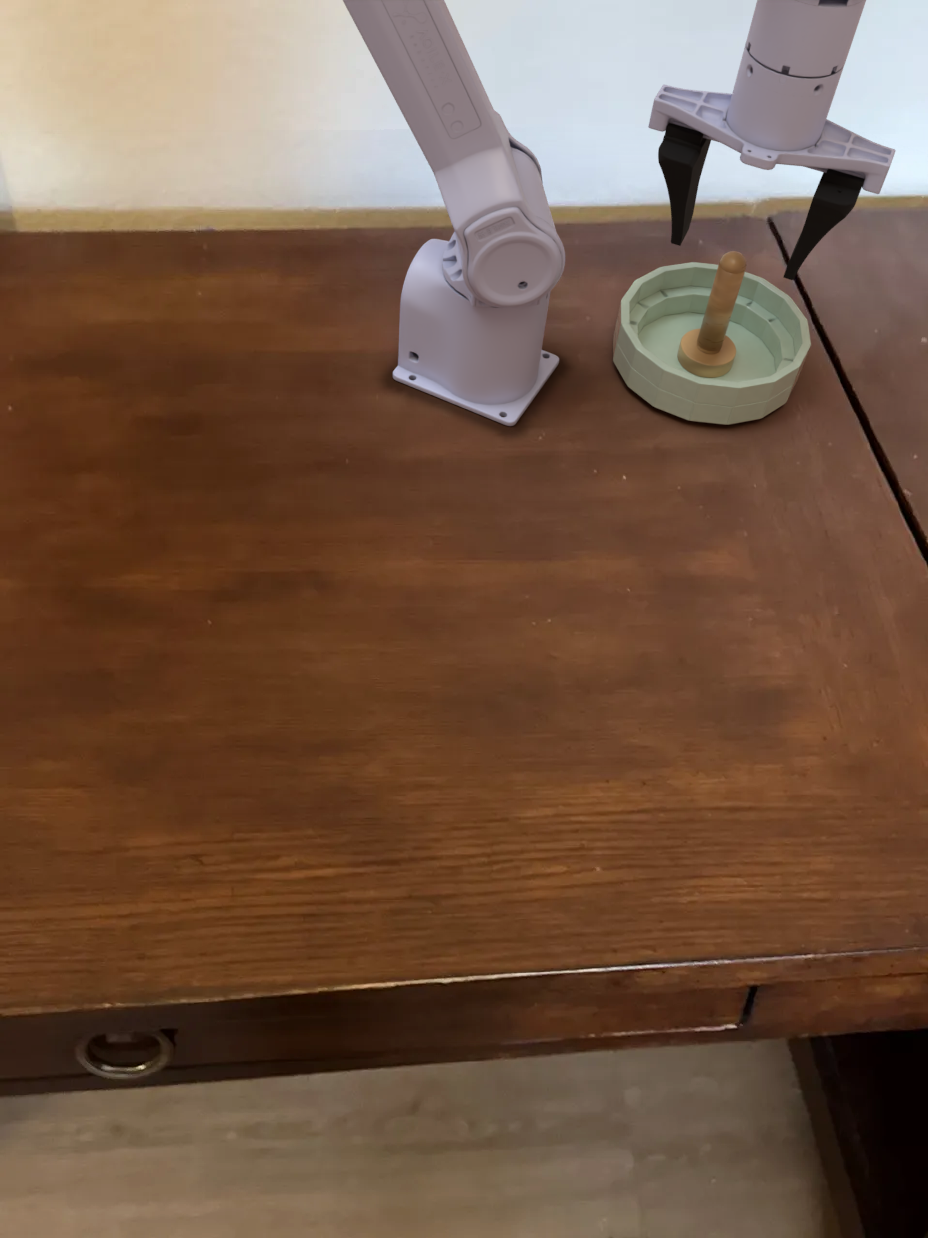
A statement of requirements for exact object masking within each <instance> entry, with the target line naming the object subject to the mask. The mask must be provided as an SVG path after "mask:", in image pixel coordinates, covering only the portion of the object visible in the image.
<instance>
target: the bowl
mask: <svg viewBox="0 0 928 1238" xmlns="http://www.w3.org/2000/svg"><path fill="white" fill-rule="evenodd" d="M718 265H719V264H715V263H706V262H698V261H691V262H683V263H678V264H677V263H675V264H670V265H664V266H659V267H657V268H656V269H653V270H652V271H650V272H648V273H646V274H644V275H643V276H641V277H638V278H636V279H635V280H634V281H633V282H632V284H631V285H630V286H629V287H628V289H627V291H626V292H625V293H624V295H623V296H622V297H621V300H620V303H619V308H618V312H617V318H616V322H615V326H614V332H613V335H612V361H613V364H614V366H615V367H616V369H617V371H618V372H619V374H620V376H621V379H623V381H624V383H625V385H626V386H627V387H628V388H629V389H630V390H631V391H632V392H634V393H635V394H637V395H638V396H639V397H640V398H642V399H643V400H644V401H645V402H646V403H648V404H649V405H651V406H652V407H654V408H655V409H658V410H661V411H663V412H666V413H668V414H671V415H673V416H676V417H678V418H681V419H683V420H686V421H690V422H697V423H707V424H716V425H724V426H725V425H728V426H729V425H735V424H740V423H745V422H751V421H756V420H757V421H758V420H761V419H763V418H764V417H766V416H768V415H769V414H771V413H772V412H774V411H776V410H777V409H779V408H781V407H782V406H784V405H786V403H787V402H788V400H789V398H790V397H791V395H792V392H793V391H794V388H795V387H796V385H797V382H798V380H799V378H800V375H801V372H802V369H803V367H804V364H805V362H806V359H807V357H808V354H809V352H810V349H811V347H812V341H811V334H810V327H809V320H808V319H807V317H806V316H805V315H804V313H803V312H802V311H801V310H800V309H801V308H799V307H798V305H797V304H796V302H795V301H794V300H793V298H792V297H791V296H790V295H788V294H787V293H786V292H784V291H782V289H779V287H777V286H776V285H774V284H772V283H771V282H769V281H768V280H766V279H765V278H763V277H762V276H758V275H755V274H753V273H750V272H748V271H745V273H744V276H743V280H742V283H741V286H740V289H739V293H738V296H737V299H736V302H735V306H734V309H733V312H732V315H731V319H730V322H729V325H728V328H727V332H726V336H728V337H729V338H730V339H731V340H732V341H733V343H734V344H735V347H736V356H735V359H734V362H733V365H732V368H731V369H730V371H729V372H728V373H726V374H725V375H723V376H720V377H715V378H705V377H700V376H697V375H694V374H692V373H690V372H688V371H687V370H685V369H684V368H683V367H682V366H681V364H680V363H679V361H678V357H677V353H678V349H679V345H680V342H681V339H682V337H683V336H684V335H685V334H686V333H687V332H689V331H691V330H694V329H700V328H701V325H702V321H703V318H704V314H705V311H706V307H707V304H708V300H709V297H710V293H711V290H712V286H713V283H714V279H715V276H716V272H717V269H718Z"/></svg>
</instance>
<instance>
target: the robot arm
mask: <svg viewBox="0 0 928 1238" xmlns="http://www.w3.org/2000/svg"><path fill="white" fill-rule="evenodd" d="M342 2H343V4H344V5H345V6H344V7H345V8H346V10H347V11H348V13H349V15H350V17H351V19H352V21H353V23H354V25H355V27H356V28H357V30H358V33H359V34H360V36H361V38H362V40H363V42H364V44H365V46H366V48H367V49H368V51H369V53H370V55H371V57H372V59H373V60H374V63H375V65H376V66H377V68H378V70H379V72H380V75H381V77H382V78H383V80H384V81H385V84H386V85H387V88H388V90H389V91H390V93H391V95H392V97H393V100H394V101H395V103H396V104H397V106H398V109H399V111H400V112H401V114H402V116H403V118H404V120H405V122H406V123H407V125H408V127H409V130H410V131H411V133H412V135H413V137H414V139H415V140H416V142H417V145H418V146H419V148H420V150H421V153H422V154H423V156H424V158H425V159H426V161H427V164H428V165H429V167H430V169H431V171H432V173H433V175H434V178H435V181H436V183H437V187H438V189H439V192H440V195H441V197H442V201H443V204H444V206H445V209H446V212H447V215H448V217H449V220H450V223H451V226H452V228H453V233H452V235H451V236H450V239H449V240H444V239H439V238H431V239H429V240H427V241H426V242H424V244H422V246H420V248H419V249H418V251H417V252H416V254H415V255H414V257H413V259H412V260H411V262H410V265H409V267H408V269H407V272H406V274H405V278H404V281H403V285H402V289H401V294H400V302H399V324H398V325H399V327H398V350H397V351H398V353H397V366H396V367H394V370H393V371H392V378H393V380H395V381H396V382H399V383H401V384H403V385H406V386H408V387H411V388H414V389H416V390H418V391H421V392H423V393H426V394H428V395H431V396H433V397H435V398H438V399H441V400H442V401H445V402H447V403H450V404H452V405H455V406H458V407H460V408H463V409H465V410H467V411H470V412H472V413H474V414H477V415H479V416H482V417H485V418H487V419H488V420H492V421H494V422H496V423H499V424H501V425H504V426H507V427H513V426H515V425H516V424H517V423H518V422H519V420H520V419H521V417H522V416H523V414H525V412H526V410H527V409H528V407H529V406H530V405H531V404H532V402H533V400H534V399H535V398H536V397H537V395H538V394H539V392H540V391H541V390H542V388H543V387H544V385H545V384H546V382H547V381H548V380H549V379H550V377H551V375H552V374H553V373H554V372H555V370H556V369H557V367H558V366H559V363H560V357H559V356H558V355H556V354H554V353H551V352H549V351H546V350H543V344H544V337H545V331H546V325H547V317H548V310H549V306H550V299H551V292H552V290H553V289H554V288H555V287H556V285H557V284H558V283H559V281H560V279H561V278H562V275H563V273H564V271H565V267H566V251H565V247H564V246H565V245H564V243H563V241H562V239H561V238H560V236H559V234H558V232H557V229H556V226H555V222H554V219H553V215H552V210H551V209H550V205H549V201H548V199H547V194H546V190H545V188H544V184H543V183H544V182H543V174H542V168H541V165H540V163H539V160H538V158H537V157H536V155H535V153H534V152H532V150H531V149H530V148H528V147H527V146H526V145H525V144H523V143H522V142H520V141H519V140H517V139H516V138H515V137H514V136H513V135H512V134H511V133H510V132H509V129H508V128H507V127H506V125H505V123H504V120H503V118H502V115H501V114H500V113H499V112H498V111H496V110H495V109H494V107H493V104H492V102H491V100H490V97H489V96H488V93H487V91H486V89H485V87H484V85H483V82H482V81H481V78H480V76H479V74H478V72H477V70H476V67H475V65H474V63H473V60H472V58H471V56H470V54H469V52H468V50H467V47H466V45H465V43H464V41H463V38H462V36H461V34H460V32H459V30H458V27H457V26H456V24H455V20H454V19H453V16H452V15H451V12H450V10H449V8H448V5H447V3H446V1H445V0H342ZM866 2H867V0H756V3H755V7H754V10H753V15H752V19H751V22H750V26H749V30H748V34H747V38H746V40H745V44H744V48H743V52H742V55H741V59H740V63H739V67H738V70H737V74H736V78H735V82H734V86H733V89H732V93H728V92H716V91H706V90H696V89H689V88H681V87H676V86H672V85H668V84H662V85H661V87H660V89H659V90H658V92H657V94H656V95H655V97H654V98H653V102H652V107H651V112H650V115H649V122H648V126H647V127H648V129H651V130H654V131H657V132H662V133H663V132H664V135H663V137H662V141H661V143H660V145H659V147H658V152H657V160H658V161H657V162H658V165H659V167H660V170H661V172H662V175H663V179H664V182H665V185H666V189H667V195H668V199H669V205H670V217H671V232H670V233H671V235H670V243H671V244H672V245H675V246H678V247H681V246H682V244H683V241H684V240H685V237H686V236H687V234H688V232H689V230H690V226H691V223H692V219H693V216H694V211H695V207H696V200H697V195H698V191H699V185H700V180H701V176H702V173H703V169H704V166H705V163H706V159H707V156H708V152H709V148H710V145H711V143H712V141H714V142H717V143H720V144H722V145H724V146H726V147H728V148H730V149H732V150H734V151H735V152H737V153H739V154H740V155H739V160H740V162H741V163H742V164H744V165H747V166H751V167H754V168H757V169H760V170H763V171H772V170H773V169H774V168H775V167H776V165H784V166H794V167H802V168H803V167H804V168H807V169H811V170H815V171H818V172H821V173H822V175H821V178H820V180H819V181H818V184H817V187H816V189H815V192H814V193H813V196H812V200H811V203H810V205H809V208H808V211H807V215H806V218H805V221H804V224H803V227H802V230H801V232H800V234H799V237H798V239H797V240H796V243H795V245H794V248H793V249H792V253H791V254H790V258H789V260H788V263H787V265H786V268H785V271H784V274H783V276H782V278H784V279H786V280H790V281H794V280H795V279H796V276H797V274H798V272H799V270H800V268H801V267H802V265H803V263H804V262H805V261H806V259H807V258H808V256H809V255H810V253H811V252H812V251H813V250H814V249H815V247H816V246H817V245H818V244H819V243H820V241H821V240H823V238H824V237H825V236H826V235H827V234H828V233H829V232H830V231H831V230H833V228H834V227H836V226H837V225H838V224H839V223H841V222H842V221H843V220H845V218H846V217H847V216H848V215H850V213H851V212H852V211H853V209H854V208H855V207H856V204H857V201H858V198H859V195H860V193H861V190H864V191H865V192H868V193H873V194H876V195H879V194H880V193H881V190H882V188H883V186H884V183H885V181H886V178H887V176H888V173H889V171H890V168H891V165H892V162H893V160H894V157H895V154H896V152H897V150H896V149H895V148H891V147H888V146H885V145H882V144H880V143H878V142H874V141H872V140H870V139H867V138H866V137H864V136H862V135H860V134H857V133H855V132H853V131H852V130H849V129H848V128H846V127H843V126H842V125H839V124H837V123H835V122H834V121H831V120H829V119H827V118H828V116H829V114H830V113H829V112H830V110H831V106H832V104H833V100H834V98H835V95H836V91H837V89H838V85H839V82H840V79H841V76H842V73H843V70H844V67H845V65H846V62H847V59H848V55H849V53H850V50H851V47H852V44H853V41H854V38H855V36H856V33H857V29H858V26H859V23H860V20H861V17H862V14H863V11H864V8H865V5H866Z"/></svg>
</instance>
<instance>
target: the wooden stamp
mask: <svg viewBox="0 0 928 1238" xmlns="http://www.w3.org/2000/svg"><path fill="white" fill-rule="evenodd" d="M717 265H718V269H717V272H716V276H715V279H714V283H713V286H712V290H711V293H710V297H709V300H708V304H707V307H706V311H705V314H704V318H703V321H702V325H701V328H700V329H694V330H691V331H689V332H687V333H686V334H685V335H684V336H683V337H682V339H681V342H680V345H679V349H678V353H677V357H678V361H679V363H680V364H681V366H682V367H683V368H684V369H685V370H687V371H688V372H690V373H692V374H694V375H697V376H700V377H705V378H715V377H720V376H723V375H725V374H726V373H728V372H729V371H730V369H731V368H732V365H733V362H734V359H735V356H736V347H735V344H734V343H733V341H732V340H731V339H730V338H729V337H728V336H726V332H727V328H728V325H729V322H730V319H731V315H732V312H733V309H734V306H735V302H736V299H737V296H738V293H739V289H740V286H741V283H742V280H743V276H744V273H745V272H746V270H747V259H746V257H745V256H744V254H743V253H741V252H739V251H737V250H732V251H728V252H726V253H725V254H723V255H722V256H721V258H720V260H719V262H718V264H717Z"/></svg>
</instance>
